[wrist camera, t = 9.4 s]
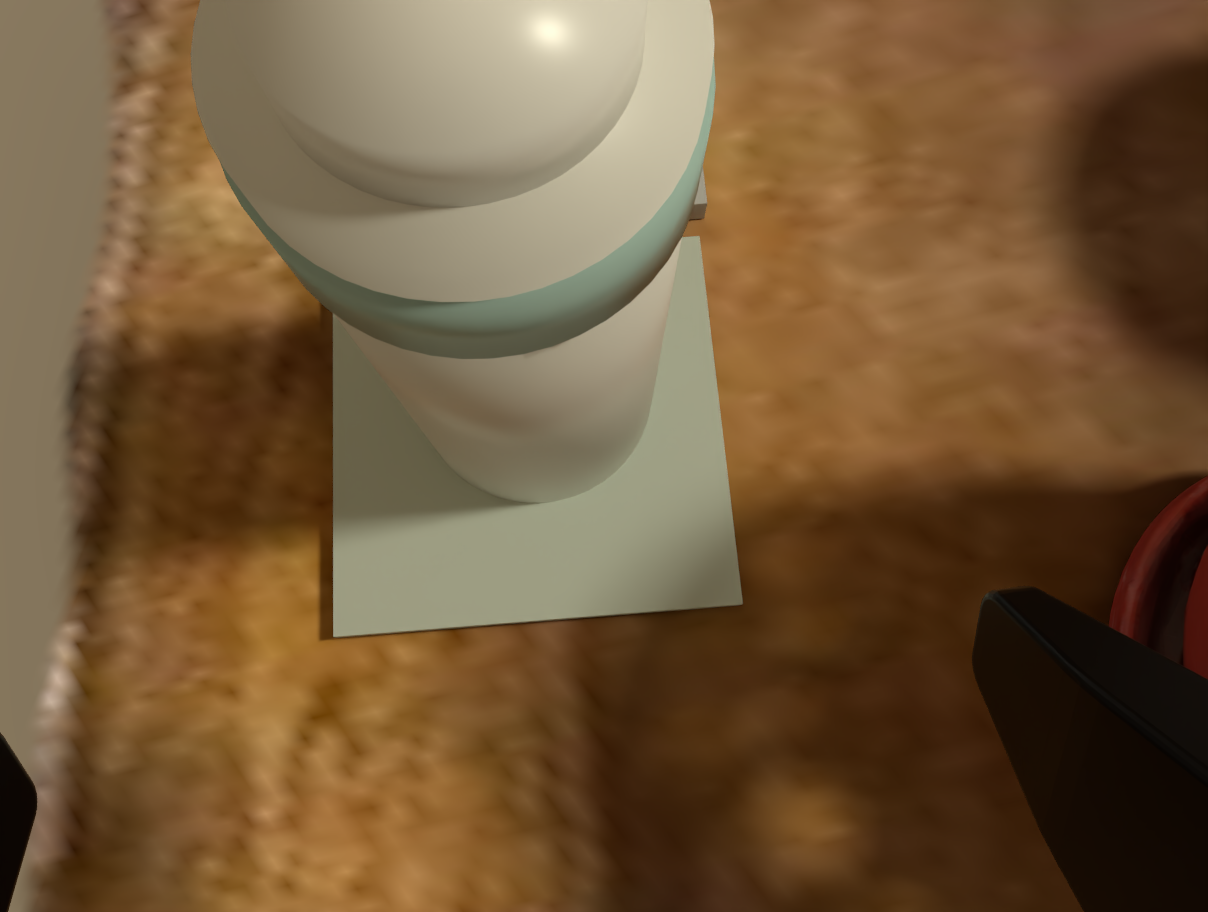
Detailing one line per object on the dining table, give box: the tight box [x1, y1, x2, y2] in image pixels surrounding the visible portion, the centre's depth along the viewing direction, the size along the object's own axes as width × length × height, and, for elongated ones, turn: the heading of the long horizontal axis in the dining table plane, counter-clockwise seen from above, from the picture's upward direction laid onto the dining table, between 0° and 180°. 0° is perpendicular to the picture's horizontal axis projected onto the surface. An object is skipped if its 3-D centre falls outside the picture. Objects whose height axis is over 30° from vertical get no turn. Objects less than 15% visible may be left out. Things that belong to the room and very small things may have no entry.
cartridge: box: [191, 0, 715, 503], centre depth 16 cm, size 6×6×14 cm
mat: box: [333, 236, 743, 638], centre depth 23 cm, size 10×10×1 cm
